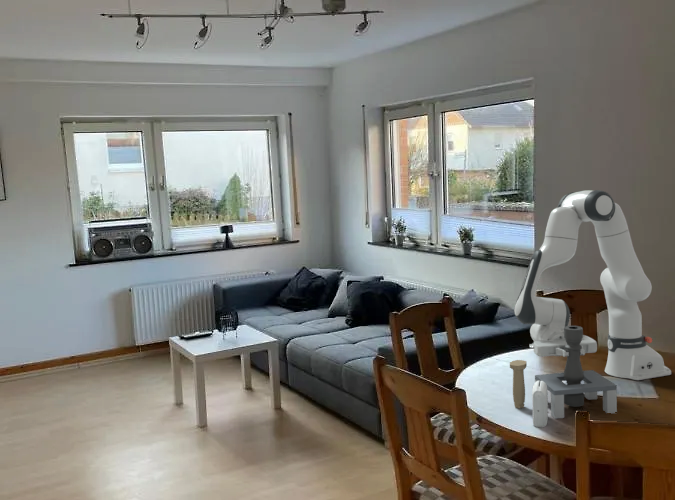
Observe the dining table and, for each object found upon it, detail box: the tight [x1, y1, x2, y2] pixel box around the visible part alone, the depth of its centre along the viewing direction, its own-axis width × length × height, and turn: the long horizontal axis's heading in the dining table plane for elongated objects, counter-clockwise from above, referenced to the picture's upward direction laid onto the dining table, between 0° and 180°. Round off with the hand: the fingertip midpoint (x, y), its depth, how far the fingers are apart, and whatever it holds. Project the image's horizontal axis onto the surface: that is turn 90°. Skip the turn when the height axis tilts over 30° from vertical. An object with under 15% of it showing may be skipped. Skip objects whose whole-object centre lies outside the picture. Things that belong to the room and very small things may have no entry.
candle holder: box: [563, 325, 585, 408], centre depth 215 cm, size 6×6×25 cm
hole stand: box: [534, 369, 618, 420], centre depth 216 cm, size 20×16×9 cm
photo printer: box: [531, 381, 549, 428], centre depth 206 cm, size 10×4×12 cm, turn 160°
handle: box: [509, 359, 527, 410], centre depth 218 cm, size 5×6×15 cm
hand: (574, 353), depth 213 cm, fingers closed on candle holder, 4 cm apart
